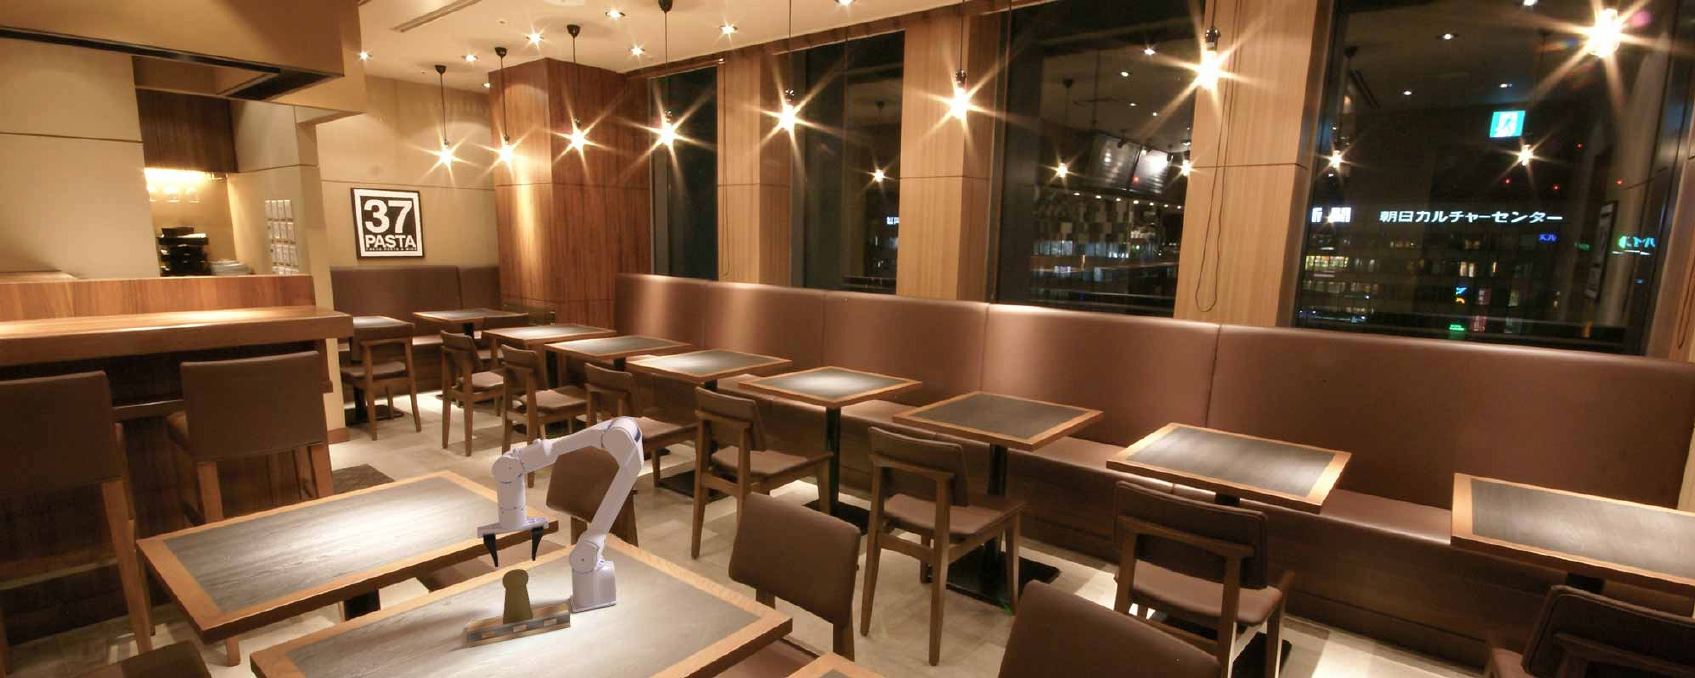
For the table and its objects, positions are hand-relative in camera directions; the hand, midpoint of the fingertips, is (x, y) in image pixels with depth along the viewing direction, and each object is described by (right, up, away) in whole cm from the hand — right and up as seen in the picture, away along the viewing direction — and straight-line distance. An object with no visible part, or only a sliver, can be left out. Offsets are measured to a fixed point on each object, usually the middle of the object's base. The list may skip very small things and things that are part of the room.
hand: (515, 562), depth 169 cm
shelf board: (+4, -12, -7) cm, 14 cm away
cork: (+3, -11, -6) cm, 13 cm away
